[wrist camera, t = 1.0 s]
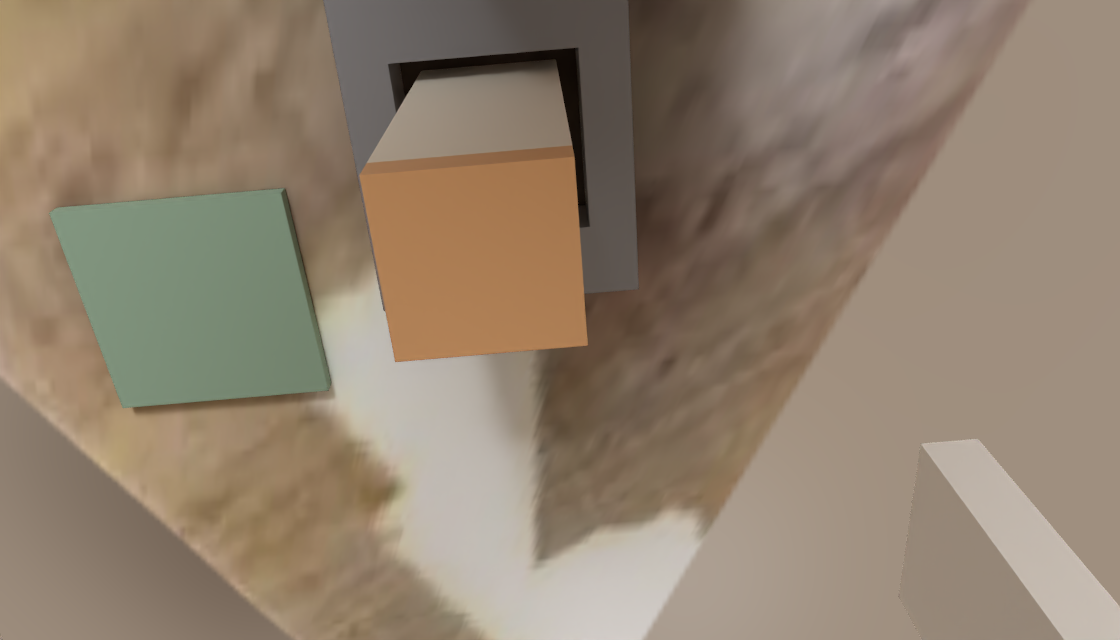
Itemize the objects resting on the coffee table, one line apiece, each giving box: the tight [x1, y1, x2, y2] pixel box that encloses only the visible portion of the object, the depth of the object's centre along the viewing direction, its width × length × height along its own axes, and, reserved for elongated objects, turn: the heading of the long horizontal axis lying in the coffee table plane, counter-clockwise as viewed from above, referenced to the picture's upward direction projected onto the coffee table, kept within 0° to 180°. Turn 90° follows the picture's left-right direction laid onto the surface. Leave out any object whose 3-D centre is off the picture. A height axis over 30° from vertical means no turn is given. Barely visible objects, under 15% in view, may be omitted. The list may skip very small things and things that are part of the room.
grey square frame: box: [323, 0, 639, 311], centre depth 31 cm, size 12×10×2 cm
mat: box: [49, 188, 331, 408], centre depth 34 cm, size 9×9×1 cm
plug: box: [359, 59, 588, 362], centre depth 26 cm, size 5×5×13 cm
